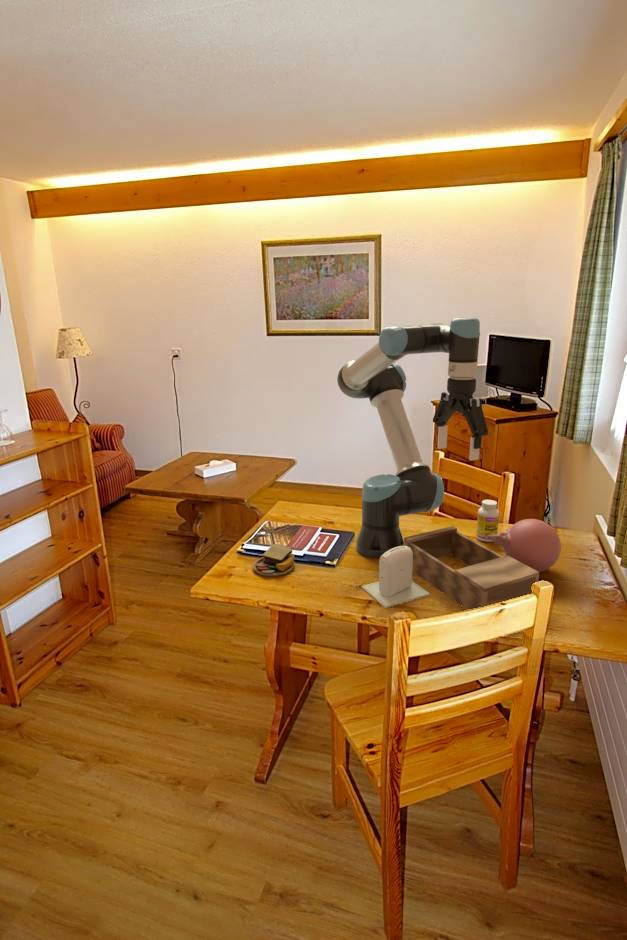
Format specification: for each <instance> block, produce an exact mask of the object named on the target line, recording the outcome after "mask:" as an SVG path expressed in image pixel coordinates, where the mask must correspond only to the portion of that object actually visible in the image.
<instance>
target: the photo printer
mask: <svg viewBox="0 0 627 940" xmlns="http://www.w3.org/2000/svg"><path fill="white" fill-rule="evenodd" d="M378 559H379V560H378V561H379V562H378V568H379V569H378V581H379V591H380V593H381V595H383V596H386V597H387V596H391V595H394V594H396V593H398V592H400V591H402V590H404V589H407V588H408V587H410V586H411V585H412V581H413V571H412V570H413V552H412V550H411V548H410V547H407V546H398V547H395V548H392V549H390V550H388V551H387V552H385V553H384V554H383V555H382V556H381V557H380V558H378Z"/></svg>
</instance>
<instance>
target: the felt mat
mask: <svg viewBox="0 0 627 940" xmlns="http://www.w3.org/2000/svg"><path fill="white" fill-rule="evenodd" d="M361 589H363V590H364V591H365V592H366V593H367V594H369V596H370V597H372V598H373V599H374V600H375V601H376V602H377V603H379V604H380V605H381V606H382V607H383V608H384V609H388V607H389V608H392V607H395V606H398V605H397V604H399V605H401V604H400V603H402V604H404V603H403V602H406V601H409V602H411V601H410V600H412V601H415V600H414V599H416V600H418V598H419V599H422V597H423V598H426V597H430V595H431V593H430V592H428V591H427V590H426V589H424V588H423V587H422V586H420V585H419V584H417V583H416V582H414V580H412V585H411V586H410V587H408V588H407V589H404V590H402V591H400V592H398V593H396V594H394V595H391V596H387V597H386V596H383V595H381V593H380V591H379V580H378V581H376V582H372V583H369V584H364V585H362V586H361ZM406 603H407V602H406ZM394 605H395V606H394ZM391 606H392V607H391Z"/></svg>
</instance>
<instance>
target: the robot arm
mask: <svg viewBox="0 0 627 940" xmlns="http://www.w3.org/2000/svg"><path fill="white" fill-rule="evenodd" d="M480 323H481V321H480V320H479V319H478V318H475V317H454V318H452V319H451V320H450V324H443V323H431V324H421V325H420V324H419V325H394V326H393V325H392V326H388V327H387V326H386V327H384V328H383V329H382V330H381V332H380V334H379V337H378V342H377V343H376V344H374V345H373V346H372V347H371V348H369V349H368V350H367V351H365V352H364V353H363V354H362V355H360V356H359V357H358V358H357V359H355V360H351V361H348V362H346V364H344V365H343V366H342V367H341V368H340V370H339V371H338V374H337V386H338V387H339V389H340V391H341V392H342V393H343V394H344V395H346V396H348V397H349V398H353V399H369V402H370V405H371V406H372V407H374V408H375V409H377V412H378V415H379V418H380V422H381V425H382V428H383V430H384V435H385V437H386V440H387V444H388V446H389V449H390V452H391V455H392V458H393V461H394V465H395V467H396V470H397V471H396V473H395V474H378V475H374V476H371V477H368V478H367V479H366V480H365V481H364V482H363V484H362V492H361V506H362V507H361V527H360V530H359V534H358V536H357V539H356V547H355V548H356V550H357V552H358V553H359V554H361V555H363V556H364V557H365V556H366V557H368V558H371V559H380V557H381V556H382V555H383V554H384V553H385V552H387V551H388V550H390V549H392V548H395V547H398V546H404V537H403V535H402V531H401V529H400V517H401V516H407V515H413V514H419V513H427V512H429V511H434V510H436V509H438V508H440V507H441V505H442V502H443V501H444V496H445V486H444V482H443V479H442V477H441V476H440V475H439V474H438V473H434V472H432V471H431V467H430V466H429V465H427V464H426V463H424V462H423V459H422V457H421V454H420V453H421V452H420V451H419V447H418V444H417V442H416V439H415V436H414V434H413V433H414V432H413V430H412V427H411V424H410V422H409V419H408V416H407V413H406V410H405V407H404V404H403V402H402V399H403V397H404V392H405V391H406V388H407V382H406V381H407V377H406V376H407V375H406V373H405V371H404V369H403V368H402V366H401V365H400V364H399V363H397V362H398V361H399V360H400V359H403V358H404V357H405V356H407V355H417V354H431V353H434V354H435V353H446V354H448V364H447V367H448V369H447V376H448V378H447V382H446V383H447V384H446V390H447V391H442V392H441V393H440V400H439V402H438V405H437V408H436V410H435V412H434V415H433V418H432V422H433V423H435V424H436V426H437V431H436V435H437V446H436V448H437V449H438V450H441V449H447V445H448V427H449V426H448V422H449V420H450V419H451V418H452V416H453V415H454V413H455V412H458V413H460V414H461V415H462V416H464V418H465V420H466V422H467V425H468V427H469V430H470V431H471V433H472V435H471V436H470V440H469V441H470V442H469V443H470V444H469V454H468V455H469V456H468V461H471V462H472V461H477V460H478V461H479V459H480V449H481V447H482V440H483V439H482V438H483V437H484V436H488V435H489V429H488V426H487V422H486V418H485V414H484V411H483V405H482V404H483V401H482V400H483V399H482V398H474V397H473V395H474V394H475V392H476V391H477V379H476V377H477V376H478V359H479V347H480V346H479V345H480V338H481V337H480V336H481V333H480V332H481V331H480V330H481V329H480V328H481V327H480V326H481V325H480Z"/></svg>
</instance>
